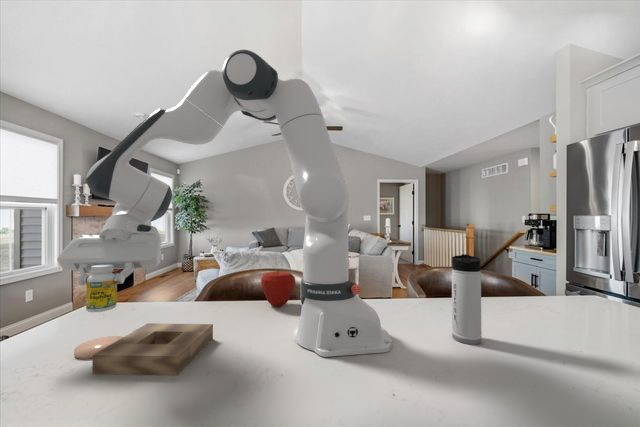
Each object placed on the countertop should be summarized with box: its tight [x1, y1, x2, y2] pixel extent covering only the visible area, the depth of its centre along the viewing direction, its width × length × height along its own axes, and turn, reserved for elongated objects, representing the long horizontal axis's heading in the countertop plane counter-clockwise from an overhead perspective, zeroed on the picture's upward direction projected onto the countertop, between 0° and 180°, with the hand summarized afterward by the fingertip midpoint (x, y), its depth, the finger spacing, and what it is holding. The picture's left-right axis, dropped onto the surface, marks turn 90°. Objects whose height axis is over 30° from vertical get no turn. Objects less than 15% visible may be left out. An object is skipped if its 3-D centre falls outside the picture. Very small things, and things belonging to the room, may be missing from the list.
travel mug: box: [451, 253, 482, 345], centre depth 69 cm, size 6×7×20 cm
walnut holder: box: [91, 322, 214, 376], centre depth 60 cm, size 16×16×4 cm
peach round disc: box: [73, 335, 124, 360], centre depth 63 cm, size 9×9×1 cm
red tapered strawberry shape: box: [260, 269, 296, 308], centre depth 95 cm, size 11×11×12 cm
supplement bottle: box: [85, 264, 118, 313], centre depth 63 cm, size 5×5×10 cm
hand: (100, 282), depth 62 cm, fingers closed on supplement bottle, 5 cm apart
